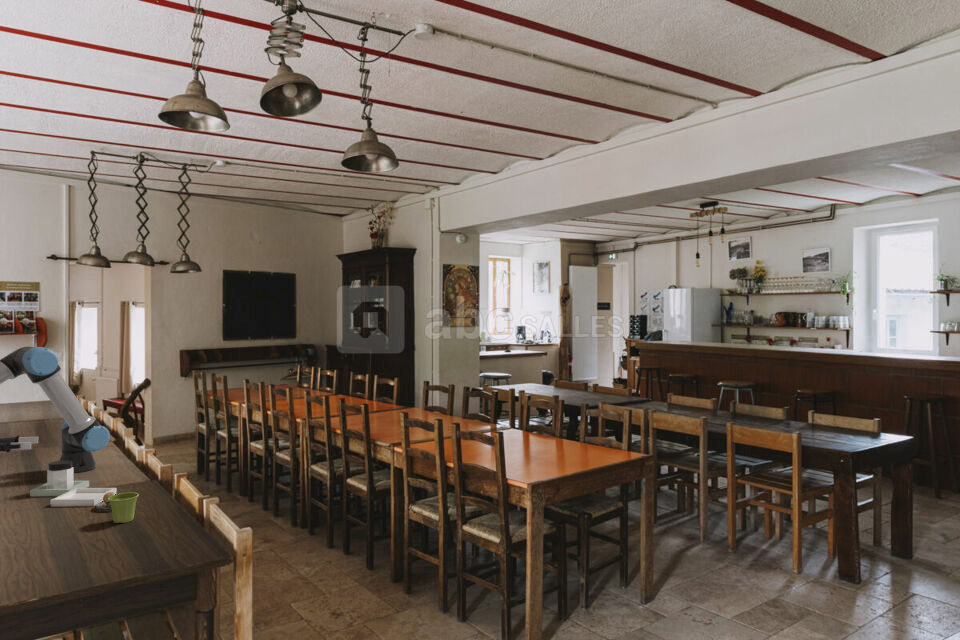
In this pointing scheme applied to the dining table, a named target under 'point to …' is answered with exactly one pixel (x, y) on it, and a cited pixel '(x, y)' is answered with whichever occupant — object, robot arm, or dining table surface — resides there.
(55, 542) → the dining table surface
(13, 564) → the dining table surface
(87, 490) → the tray
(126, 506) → the plant pot
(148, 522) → the dining table surface
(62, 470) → the jar
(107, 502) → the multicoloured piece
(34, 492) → the pale green square frame
